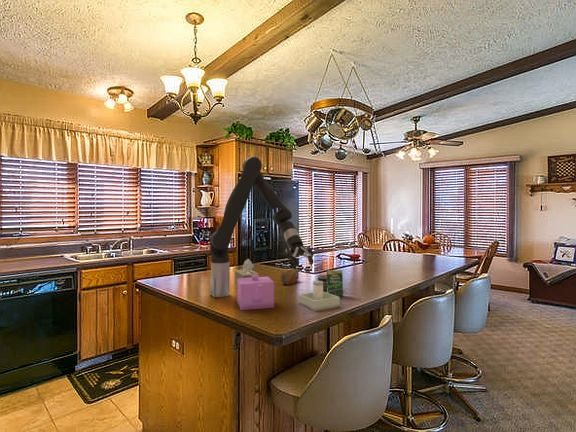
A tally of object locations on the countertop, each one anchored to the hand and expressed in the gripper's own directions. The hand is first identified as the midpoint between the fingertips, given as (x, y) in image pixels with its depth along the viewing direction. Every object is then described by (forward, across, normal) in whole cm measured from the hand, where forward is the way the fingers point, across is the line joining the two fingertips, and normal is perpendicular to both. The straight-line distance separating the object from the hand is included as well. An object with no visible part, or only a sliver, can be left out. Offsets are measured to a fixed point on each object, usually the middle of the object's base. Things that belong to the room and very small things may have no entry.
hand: (304, 264), depth 169 cm
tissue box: (-19, -12, +44) cm, 49 cm away
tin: (-14, +13, +39) cm, 44 cm away
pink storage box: (+11, -25, +15) cm, 31 cm away
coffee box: (+14, +17, +11) cm, 25 cm away
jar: (+5, +21, +20) cm, 30 cm away
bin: (+20, 0, +4) cm, 21 cm away
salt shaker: (+20, 0, +4) cm, 20 cm away
